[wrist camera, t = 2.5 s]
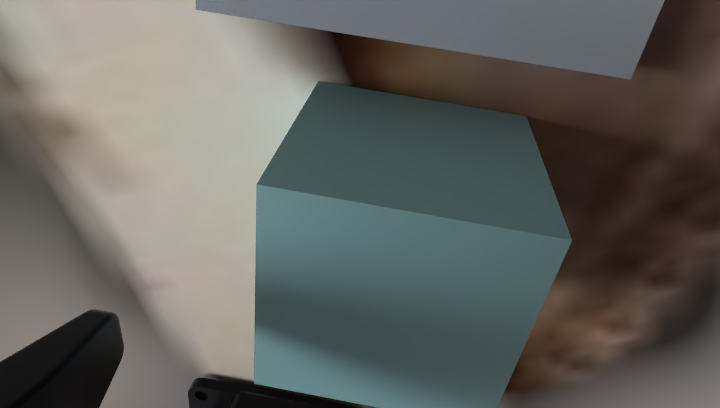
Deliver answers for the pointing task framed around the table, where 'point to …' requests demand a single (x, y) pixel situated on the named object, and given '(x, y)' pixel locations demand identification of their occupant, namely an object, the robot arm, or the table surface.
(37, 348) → the robot arm
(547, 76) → the table surface
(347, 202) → the teal block
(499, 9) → the build board
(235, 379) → the table surface
